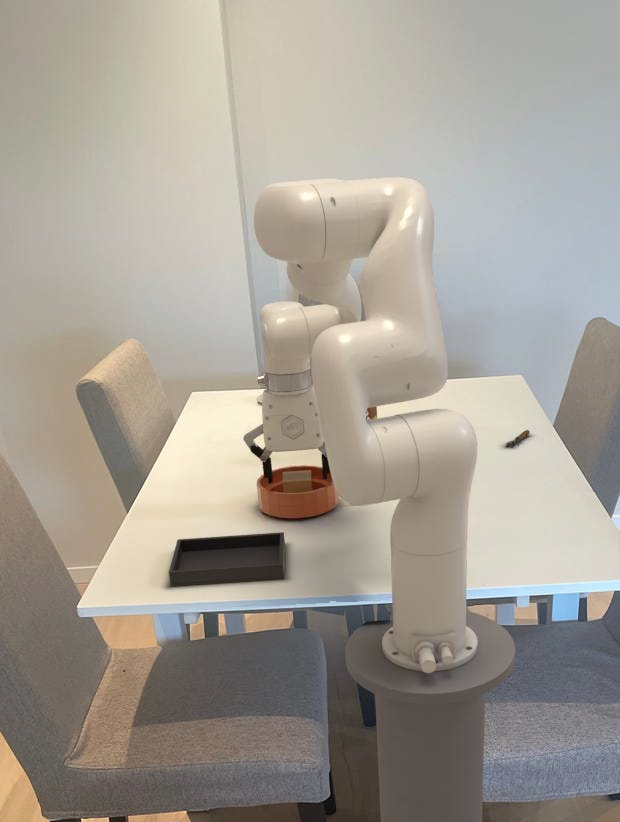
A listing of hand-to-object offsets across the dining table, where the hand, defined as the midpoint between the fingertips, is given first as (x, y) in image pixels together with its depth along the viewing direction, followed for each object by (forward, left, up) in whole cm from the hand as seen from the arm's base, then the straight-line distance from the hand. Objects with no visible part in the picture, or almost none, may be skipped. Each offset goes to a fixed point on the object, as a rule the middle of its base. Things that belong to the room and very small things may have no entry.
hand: (297, 479), depth 163 cm
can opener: (+28, -45, -5) cm, 53 cm away
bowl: (+1, 0, -5) cm, 5 cm away
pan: (-22, +11, -5) cm, 26 cm away
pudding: (+70, +4, -5) cm, 70 cm away
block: (+1, 0, -5) cm, 5 cm away
